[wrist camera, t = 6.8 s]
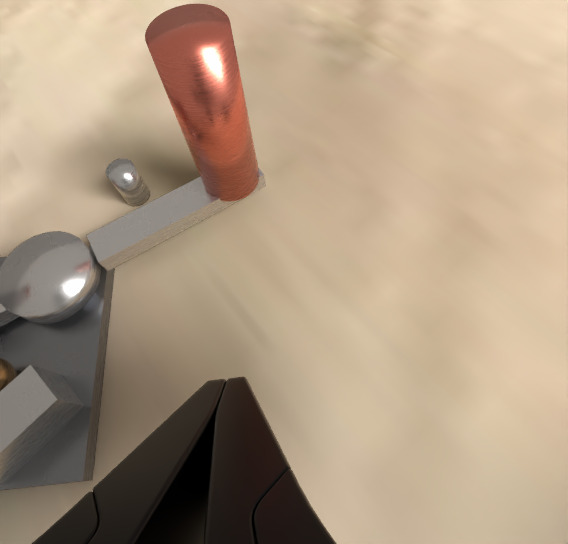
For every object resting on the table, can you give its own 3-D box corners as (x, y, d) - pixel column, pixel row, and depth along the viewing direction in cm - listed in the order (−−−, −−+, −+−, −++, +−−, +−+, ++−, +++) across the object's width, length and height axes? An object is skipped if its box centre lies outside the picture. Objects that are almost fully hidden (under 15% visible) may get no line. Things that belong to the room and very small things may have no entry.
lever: (-57, 386, 19) (-359, 329, 10) (-72, 308, 21) (-337, 206, 12) (278, 202, 22) (256, 45, 14) (238, 149, 24) (197, -16, 15)
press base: (-111, 502, 18) (-194, 511, 15) (-21, 205, 25) (-65, 173, 22) (131, 475, 17) (95, 479, 15) (150, 184, 25) (129, 148, 22)
